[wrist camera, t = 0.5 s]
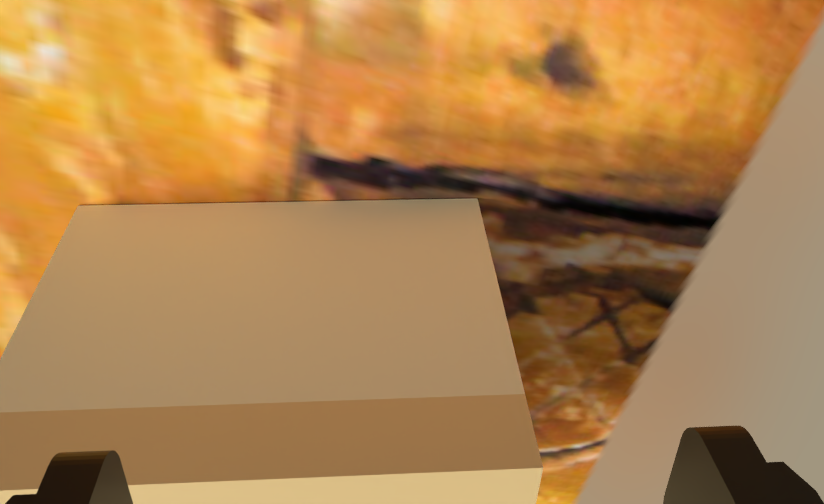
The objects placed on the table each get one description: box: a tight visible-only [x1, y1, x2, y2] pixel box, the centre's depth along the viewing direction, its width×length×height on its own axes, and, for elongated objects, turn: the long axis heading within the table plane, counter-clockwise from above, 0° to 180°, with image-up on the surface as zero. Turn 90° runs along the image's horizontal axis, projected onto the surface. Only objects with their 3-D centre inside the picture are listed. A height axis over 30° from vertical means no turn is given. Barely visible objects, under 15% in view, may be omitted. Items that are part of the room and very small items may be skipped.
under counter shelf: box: [0, 198, 543, 504], centre depth 27 cm, size 12×15×12 cm
